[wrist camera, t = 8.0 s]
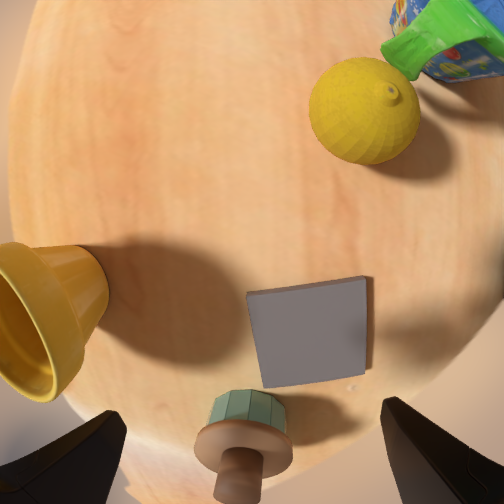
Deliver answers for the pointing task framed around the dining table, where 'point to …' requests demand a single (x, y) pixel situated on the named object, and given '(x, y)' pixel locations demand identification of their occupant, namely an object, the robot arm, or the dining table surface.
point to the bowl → (249, 408)
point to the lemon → (364, 111)
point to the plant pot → (47, 315)
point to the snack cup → (447, 39)
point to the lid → (242, 457)
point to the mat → (310, 331)
